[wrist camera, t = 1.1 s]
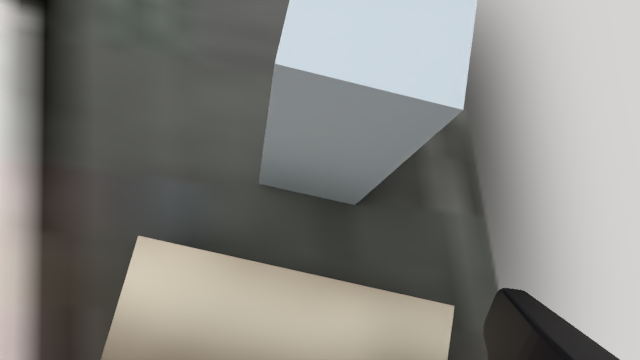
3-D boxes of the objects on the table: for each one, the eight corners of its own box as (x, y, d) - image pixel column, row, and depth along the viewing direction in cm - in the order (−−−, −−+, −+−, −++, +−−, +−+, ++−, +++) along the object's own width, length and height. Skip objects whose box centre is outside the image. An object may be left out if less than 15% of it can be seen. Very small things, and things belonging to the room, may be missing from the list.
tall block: (354, 205, 23) (463, 109, 12) (258, 183, 23) (274, 63, 12) (370, 115, 25) (483, -50, 13) (279, 93, 24) (313, -98, 13)
